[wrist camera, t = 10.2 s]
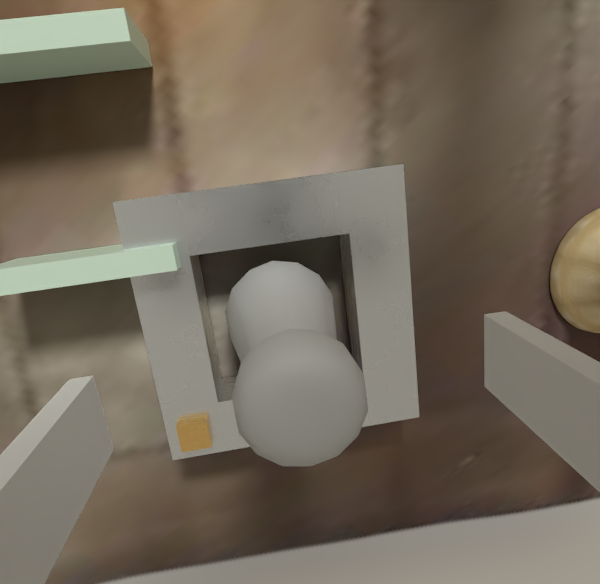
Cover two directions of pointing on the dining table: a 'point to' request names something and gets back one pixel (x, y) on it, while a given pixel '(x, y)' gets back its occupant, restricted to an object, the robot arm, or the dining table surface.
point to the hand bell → (578, 274)
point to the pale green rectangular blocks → (68, 62)
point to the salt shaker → (292, 367)
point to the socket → (265, 231)
